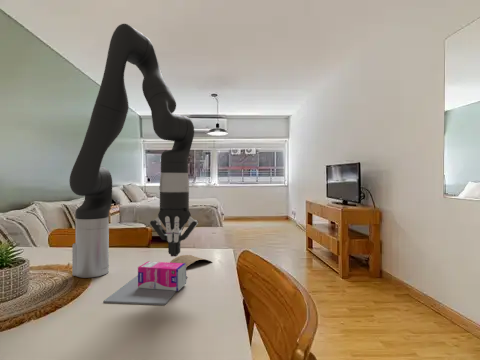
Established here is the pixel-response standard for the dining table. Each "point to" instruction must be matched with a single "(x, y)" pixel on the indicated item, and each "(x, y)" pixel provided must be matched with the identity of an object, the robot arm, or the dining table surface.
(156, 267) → the supplement box
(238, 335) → the dining table surface
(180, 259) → the clay tablet
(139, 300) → the rubber mat
